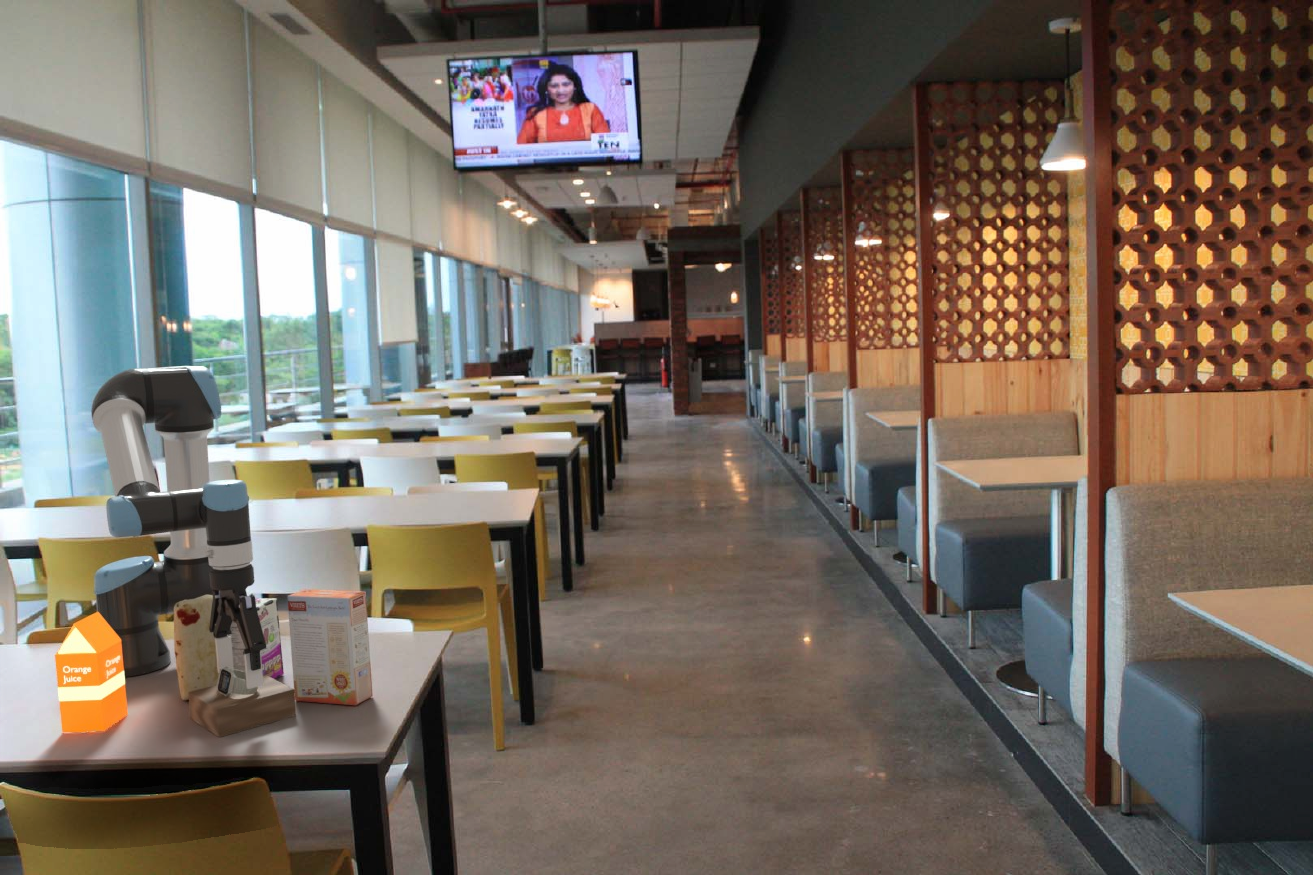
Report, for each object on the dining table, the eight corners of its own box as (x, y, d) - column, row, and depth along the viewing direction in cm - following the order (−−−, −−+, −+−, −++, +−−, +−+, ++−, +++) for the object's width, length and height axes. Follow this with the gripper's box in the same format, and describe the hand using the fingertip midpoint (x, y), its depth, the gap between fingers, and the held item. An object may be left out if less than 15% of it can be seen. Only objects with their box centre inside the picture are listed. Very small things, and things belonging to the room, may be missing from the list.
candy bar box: (262, 674, 219) (256, 597, 218) (284, 675, 218) (278, 597, 217) (231, 692, 208) (224, 611, 207) (254, 693, 207) (247, 611, 206)
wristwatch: (209, 691, 194) (207, 665, 193) (241, 681, 199) (239, 656, 198) (236, 700, 188) (234, 673, 188) (268, 690, 193) (266, 664, 192)
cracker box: (374, 696, 203) (367, 590, 201) (355, 707, 197) (348, 597, 195) (313, 691, 207) (306, 587, 205) (293, 701, 202) (285, 594, 200)
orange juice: (61, 733, 189) (50, 625, 187) (87, 716, 198) (77, 612, 196) (104, 731, 189) (94, 623, 187) (129, 714, 198) (119, 610, 196)
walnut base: (190, 718, 194) (188, 692, 194) (264, 698, 204) (262, 673, 203) (219, 737, 184) (217, 709, 184) (296, 715, 194) (294, 688, 193)
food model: (193, 706, 201) (185, 603, 199) (169, 702, 204) (160, 601, 202) (234, 690, 210) (226, 591, 208) (210, 686, 213) (202, 589, 211)
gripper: (185, 560, 198) (194, 669, 200) (237, 578, 180) (247, 699, 182) (225, 553, 203) (233, 660, 205) (280, 570, 185) (288, 688, 187)
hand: (240, 678), depth 193 cm, fingers open, 13 cm apart
